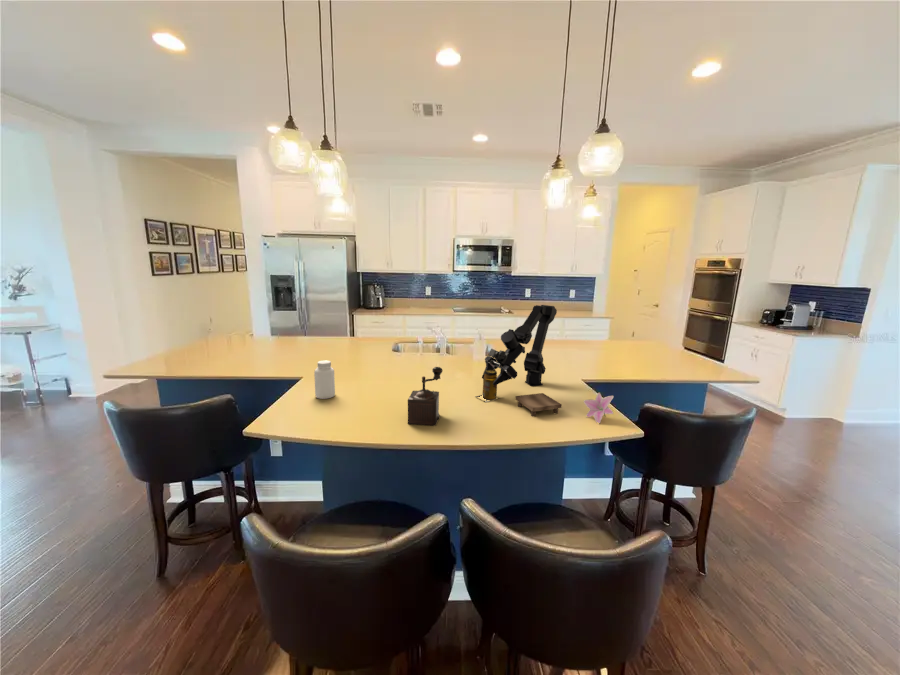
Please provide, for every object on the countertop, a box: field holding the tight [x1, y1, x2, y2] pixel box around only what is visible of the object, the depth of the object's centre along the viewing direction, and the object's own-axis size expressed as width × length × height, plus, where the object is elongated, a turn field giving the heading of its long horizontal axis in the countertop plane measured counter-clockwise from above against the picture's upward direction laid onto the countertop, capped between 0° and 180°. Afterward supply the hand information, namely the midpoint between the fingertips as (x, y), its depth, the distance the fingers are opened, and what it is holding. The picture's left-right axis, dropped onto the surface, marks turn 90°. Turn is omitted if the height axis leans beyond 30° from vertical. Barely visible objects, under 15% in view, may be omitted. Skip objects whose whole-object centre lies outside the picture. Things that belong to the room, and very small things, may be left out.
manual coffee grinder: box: [407, 366, 443, 427], centre depth 138 cm, size 16×11×18 cm
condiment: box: [474, 370, 498, 403], centre depth 159 cm, size 7×8×12 cm
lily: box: [583, 392, 614, 424], centre depth 141 cm, size 12×12×10 cm
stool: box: [514, 392, 563, 418], centre depth 149 cm, size 13×13×4 cm
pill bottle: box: [313, 359, 336, 400], centre depth 156 cm, size 8×8×15 cm
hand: (487, 381), depth 158 cm, fingers open, 9 cm apart
